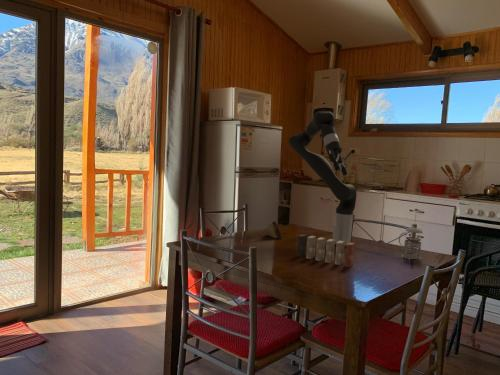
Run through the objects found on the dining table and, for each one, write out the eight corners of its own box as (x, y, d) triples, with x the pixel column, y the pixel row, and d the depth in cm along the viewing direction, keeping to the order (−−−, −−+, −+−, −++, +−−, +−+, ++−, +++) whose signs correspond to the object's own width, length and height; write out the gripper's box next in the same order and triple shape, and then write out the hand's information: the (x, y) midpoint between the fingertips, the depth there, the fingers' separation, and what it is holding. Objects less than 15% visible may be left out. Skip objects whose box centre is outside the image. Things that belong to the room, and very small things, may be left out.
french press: (423, 261, 196) (429, 210, 194) (398, 258, 198) (404, 208, 196) (419, 256, 206) (424, 208, 203) (395, 253, 208) (400, 206, 206)
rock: (262, 230, 233) (264, 231, 223) (271, 219, 234) (273, 220, 224) (276, 242, 233) (278, 244, 223) (285, 231, 234) (288, 232, 224)
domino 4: (324, 262, 183) (326, 240, 182) (328, 259, 187) (330, 238, 186) (329, 263, 181) (331, 241, 180) (333, 260, 186) (335, 239, 185)
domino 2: (306, 258, 187) (307, 237, 186) (309, 256, 191) (311, 235, 190) (310, 259, 186) (312, 238, 185) (314, 257, 190) (316, 236, 189)
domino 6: (344, 266, 178) (346, 244, 177) (347, 263, 182) (349, 242, 181) (350, 267, 177) (352, 245, 176) (353, 264, 181) (355, 243, 180)
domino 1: (296, 256, 189) (298, 235, 188) (300, 254, 194) (302, 234, 193) (301, 257, 188) (303, 236, 187) (305, 255, 192) (307, 234, 191)
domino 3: (315, 260, 185) (317, 239, 184) (319, 258, 189) (320, 237, 188) (320, 261, 184) (322, 239, 183) (323, 258, 188) (325, 238, 187)
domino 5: (334, 264, 180) (336, 242, 179) (337, 261, 185) (339, 240, 184) (339, 265, 179) (341, 243, 178) (343, 262, 183) (345, 241, 182)
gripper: (332, 152, 207) (341, 179, 200) (319, 143, 197) (328, 171, 189) (345, 146, 204) (354, 173, 196) (332, 136, 193) (342, 164, 186)
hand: (341, 172), depth 193 cm, fingers open, 8 cm apart
